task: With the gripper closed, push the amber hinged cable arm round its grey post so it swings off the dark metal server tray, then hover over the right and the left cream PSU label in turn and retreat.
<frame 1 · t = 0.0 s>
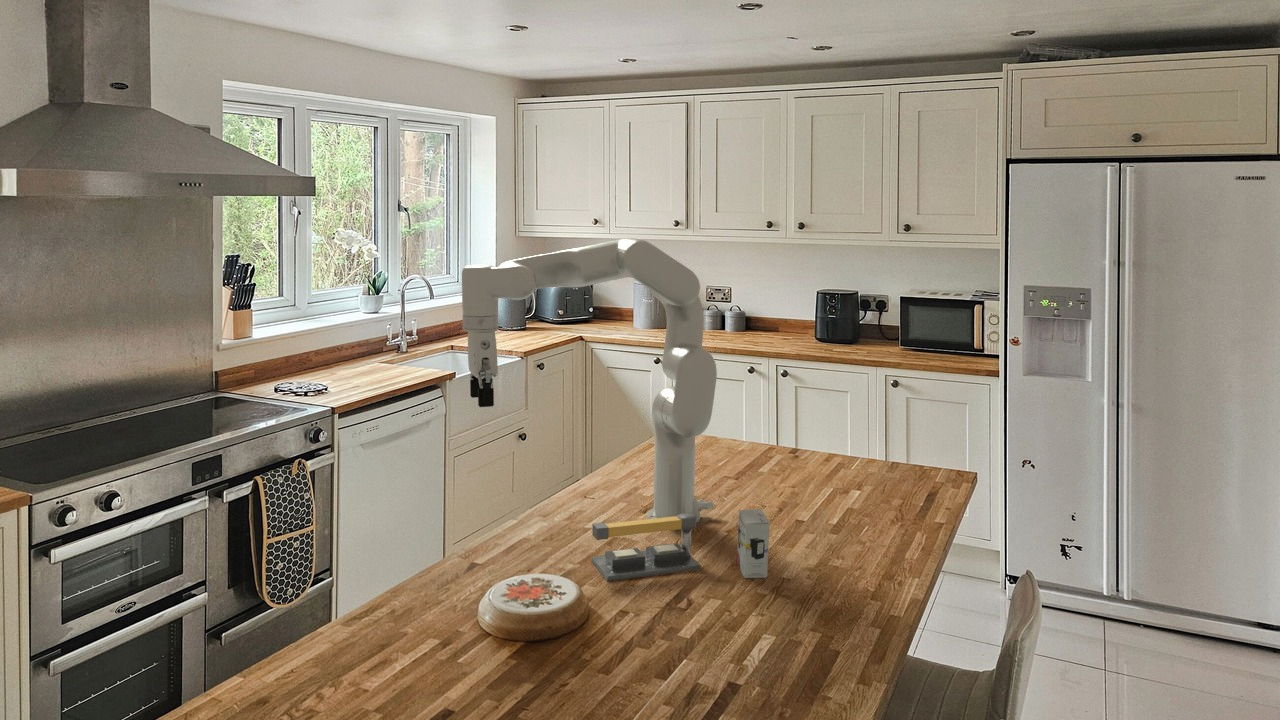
hand: (481, 401, 210), 31 cm above the kitchen island, fingers open, 9 cm apart
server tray: (645, 565, 202), on the kitchen island
ink box: (751, 571, 200), on the kitchen island
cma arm: (645, 526, 200), point 8 cm above the kitchen island, hinge at 0.0°
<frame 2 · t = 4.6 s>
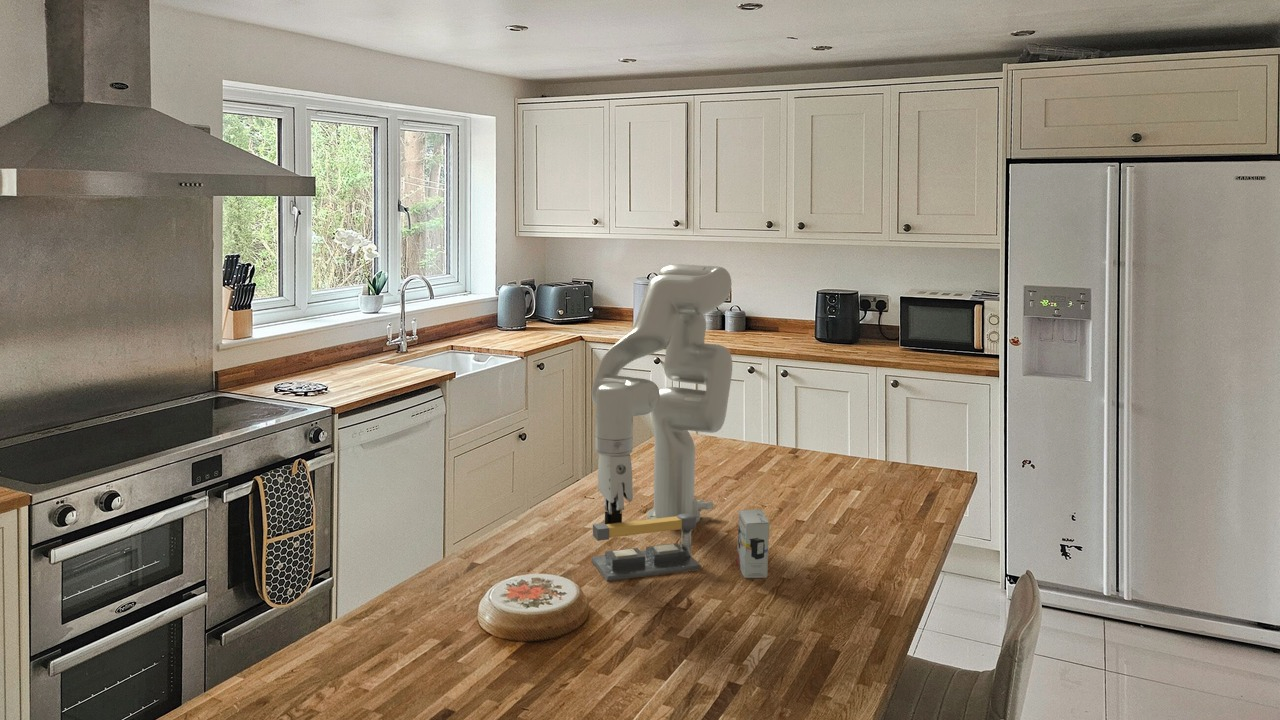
hand: (613, 530, 201), 7 cm above the kitchen island, fingers closed
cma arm: (646, 526, 200), point 9 cm above the kitchen island, hinge at 1.2°, touching gripper
everything else where it was.
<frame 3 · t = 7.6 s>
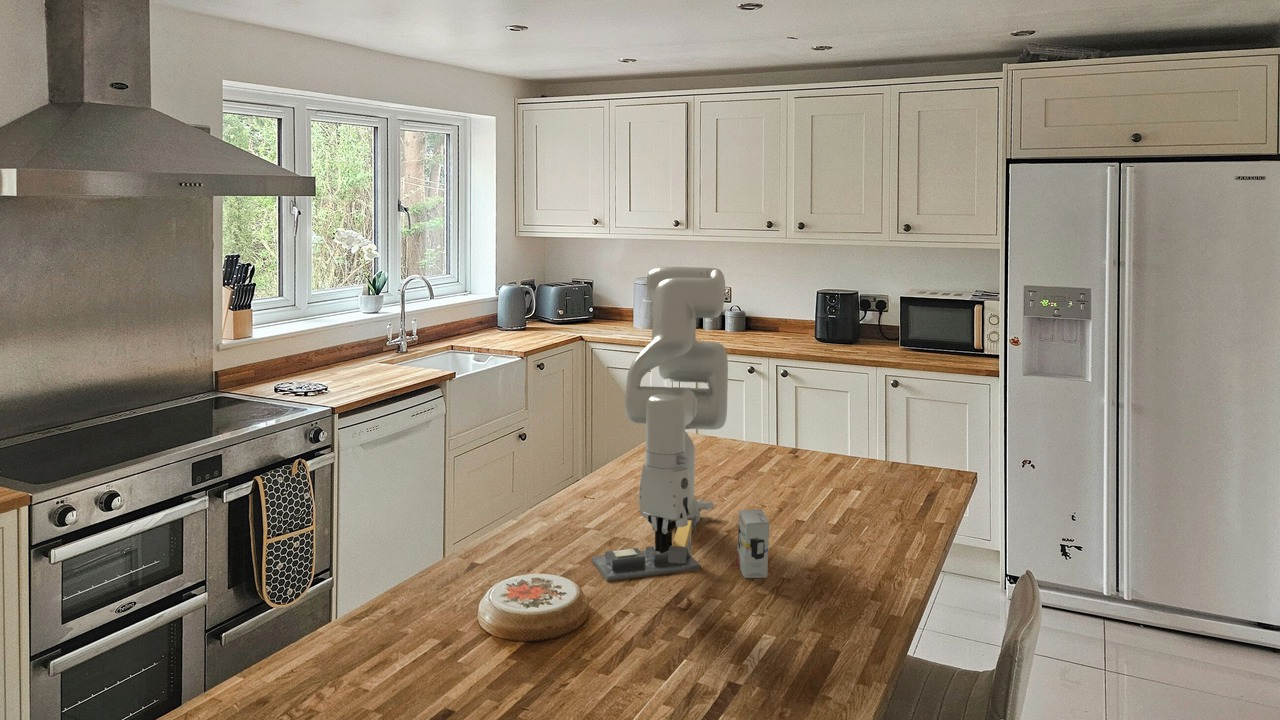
hand: (663, 550, 190), 8 cm above the kitchen island, fingers closed
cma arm: (682, 536, 194), point 9 cm above the kitchen island, hinge at 62.7°, touching gripper
everything else where it was.
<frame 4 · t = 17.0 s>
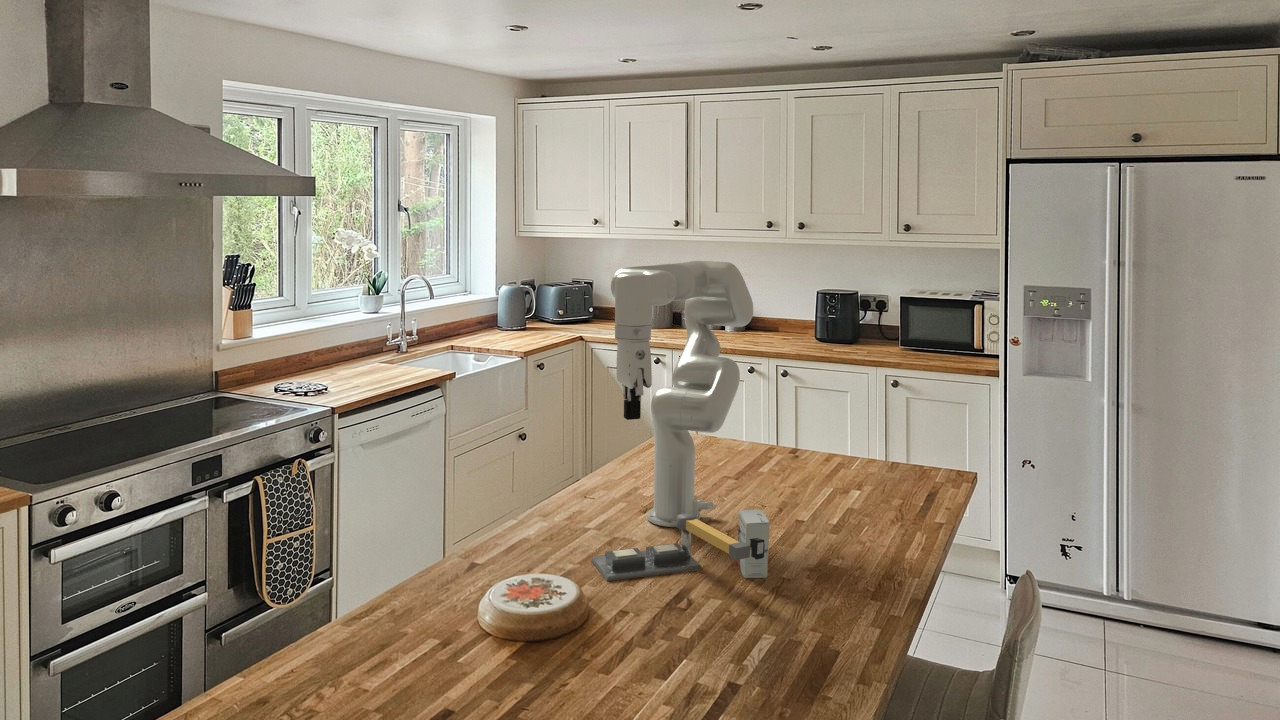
hand: (632, 418, 205), 29 cm above the kitchen island, fingers closed
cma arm: (710, 535, 195), point 9 cm above the kitchen island, hinge at 100.8°
everything else where it was.
at the end: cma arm at +101° (first picture: +0°); ink box moved 0.3 cm from its start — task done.
